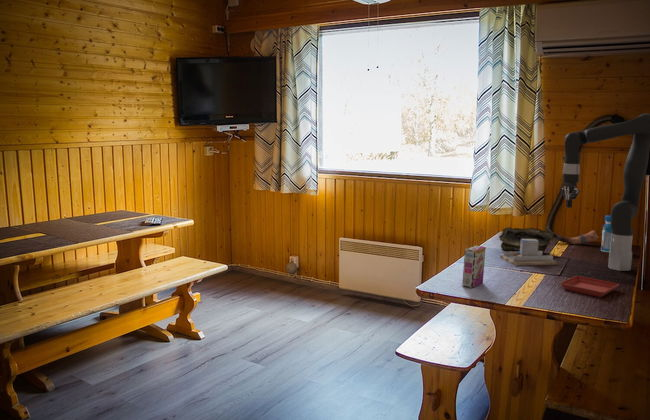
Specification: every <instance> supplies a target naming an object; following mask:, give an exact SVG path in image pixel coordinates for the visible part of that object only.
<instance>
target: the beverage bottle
mask: <svg viewBox="0 0 650 420" xmlns="http://www.w3.org/2000/svg"><path fill="white" fill-rule="evenodd" d="M604 222H605V223H604V224H603V226H602V230H601V234H602V235H601V245H600V251H601V252H603V253H609V252H610V242H611V233H612V229H611V214H608V215H605V216H604Z"/></svg>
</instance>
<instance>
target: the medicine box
mask: <svg viewBox="0 0 650 420" xmlns="http://www.w3.org/2000/svg"><path fill="white" fill-rule="evenodd" d="M538 243H539V241H538V240H536V239H521V242H520V249H519V251H520V256H538Z"/></svg>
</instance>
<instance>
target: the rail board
mask: <svg viewBox="0 0 650 420" xmlns="http://www.w3.org/2000/svg"><path fill="white" fill-rule="evenodd" d="M499 258H500V259H501V260H503V261H506V262H507V263H509V264H511V265H514V266H515V267H517V266H518V267H519V266H525V267H526V266H556V265H557V261H556V260H555V259H554V260H552V261H512V260H510V259H508V258H506V257H504V254H501V255H500V257H499Z"/></svg>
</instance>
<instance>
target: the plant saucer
mask: <svg viewBox="0 0 650 420" xmlns="http://www.w3.org/2000/svg"><path fill="white" fill-rule="evenodd" d="M560 285H561V286H562V287H563V289H565V290H567V291H571V292H574V293H575V292H576V293H580V294H583V295H588V296H593V297H598V298H601V297H603V296H606V295H607V294H609V293H611V292H613V291H615V289H617V288H618V287H619V286H620V284H619V283H616V282H612V281H607V280H602V279H596V278H592V277H587V276H581V275H575V276H573V277H571V278H569V279H566V280H564V281H561V282H560Z"/></svg>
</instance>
